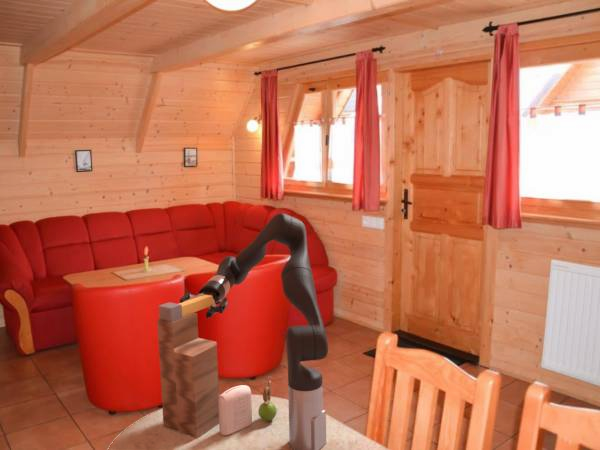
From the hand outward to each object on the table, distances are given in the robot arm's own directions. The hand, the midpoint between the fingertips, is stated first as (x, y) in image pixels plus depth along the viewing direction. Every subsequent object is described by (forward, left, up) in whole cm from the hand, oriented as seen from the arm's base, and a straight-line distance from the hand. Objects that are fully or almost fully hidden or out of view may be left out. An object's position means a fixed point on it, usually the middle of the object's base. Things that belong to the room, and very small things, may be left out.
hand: (194, 313), depth 164 cm
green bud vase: (-22, -7, -31) cm, 39 cm away
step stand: (-5, +7, -31) cm, 32 cm away
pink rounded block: (-17, +2, -31) cm, 36 cm away
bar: (-1, +3, +1) cm, 3 cm away
